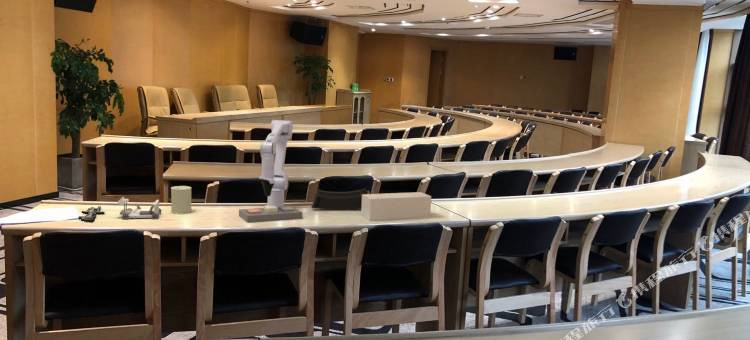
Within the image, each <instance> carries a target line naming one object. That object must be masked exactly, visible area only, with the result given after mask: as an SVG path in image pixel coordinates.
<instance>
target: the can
mask: <svg viewBox="0 0 750 340" xmlns="http://www.w3.org/2000/svg"><path fill="white" fill-rule="evenodd" d="M170 189H171V190H170V192H171V193H170V195H171V200H170V201H171V203H170V204H171V208H170V209H171V211H170V213H172V214H175V213H178V214H177V215H183V214H184V215H185V214H190V213H192V187H191V186H187V185H179V186H178V185H176V186H175V185H174V186H171V187H170Z"/></svg>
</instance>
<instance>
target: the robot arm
mask: <svg viewBox="0 0 750 340" xmlns="http://www.w3.org/2000/svg"><path fill="white" fill-rule="evenodd" d="M270 123H271V124H270V130H271V132H270V133H269V134H268V135H267V137H266V138H265V140H264V141H262V142H261V143H260V148H259V150H260V151H259V152H260V158H261V175H260V176H259V177H258V179H260V180H261V181H260V183H261V185H262V188H263V192H264V196H265V197H267V204H266V205H265V206H276V207H284V206H285V191H286V190H287V189H288V185H289V177H288V174H287V173H286V172H284V167H285V159H286V153H287V151H286V150H287V146H288V141H289V140H290V139H291V138H292V135H293V121H292V120H281V119H272V120H271V122H270Z"/></svg>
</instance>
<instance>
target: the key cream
mask: <svg viewBox="0 0 750 340" xmlns="http://www.w3.org/2000/svg"><path fill="white" fill-rule="evenodd" d="M263 208H264V211H265V212H266V213H268V212H278V208H277V207H276V206H266V205H265V206H263Z"/></svg>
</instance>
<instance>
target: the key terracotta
mask: <svg viewBox="0 0 750 340" xmlns="http://www.w3.org/2000/svg"><path fill="white" fill-rule="evenodd" d="M249 209H250V210H247V212H248V213H249V214H254V213H261V211H260V210H258V209H253V208H249Z"/></svg>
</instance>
